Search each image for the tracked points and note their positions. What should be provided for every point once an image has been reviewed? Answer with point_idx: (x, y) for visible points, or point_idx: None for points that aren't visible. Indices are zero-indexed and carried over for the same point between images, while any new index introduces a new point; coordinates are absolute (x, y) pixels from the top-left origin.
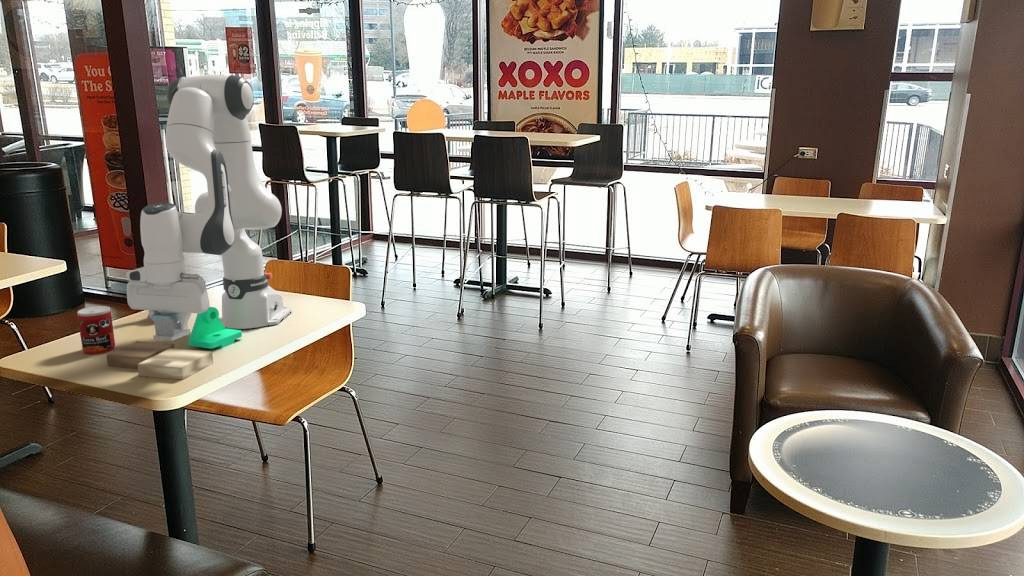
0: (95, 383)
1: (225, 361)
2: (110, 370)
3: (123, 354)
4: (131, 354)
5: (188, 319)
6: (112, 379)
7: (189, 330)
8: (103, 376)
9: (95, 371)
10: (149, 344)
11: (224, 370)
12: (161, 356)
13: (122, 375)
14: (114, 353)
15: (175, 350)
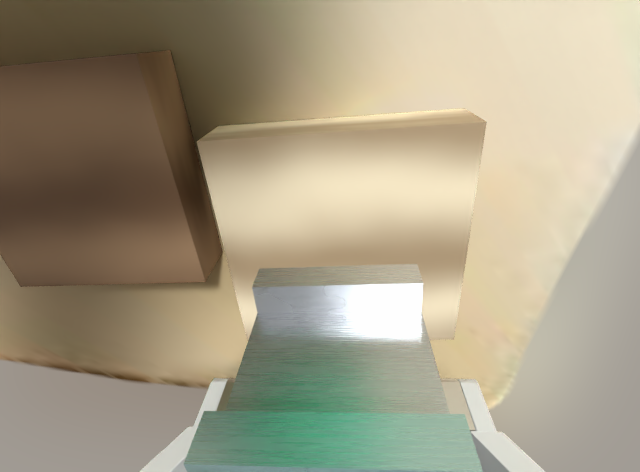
0: (190, 371)
1: (521, 60)
2: (115, 287)
3: (81, 271)
4: (113, 265)
5: (524, 457)
6: (205, 343)
7: (420, 281)
8: (153, 330)
9: (82, 304)
10: (22, 112)
11: (571, 183)
12: (263, 255)
13: (200, 313)
14: (34, 269)
15: (254, 163)
